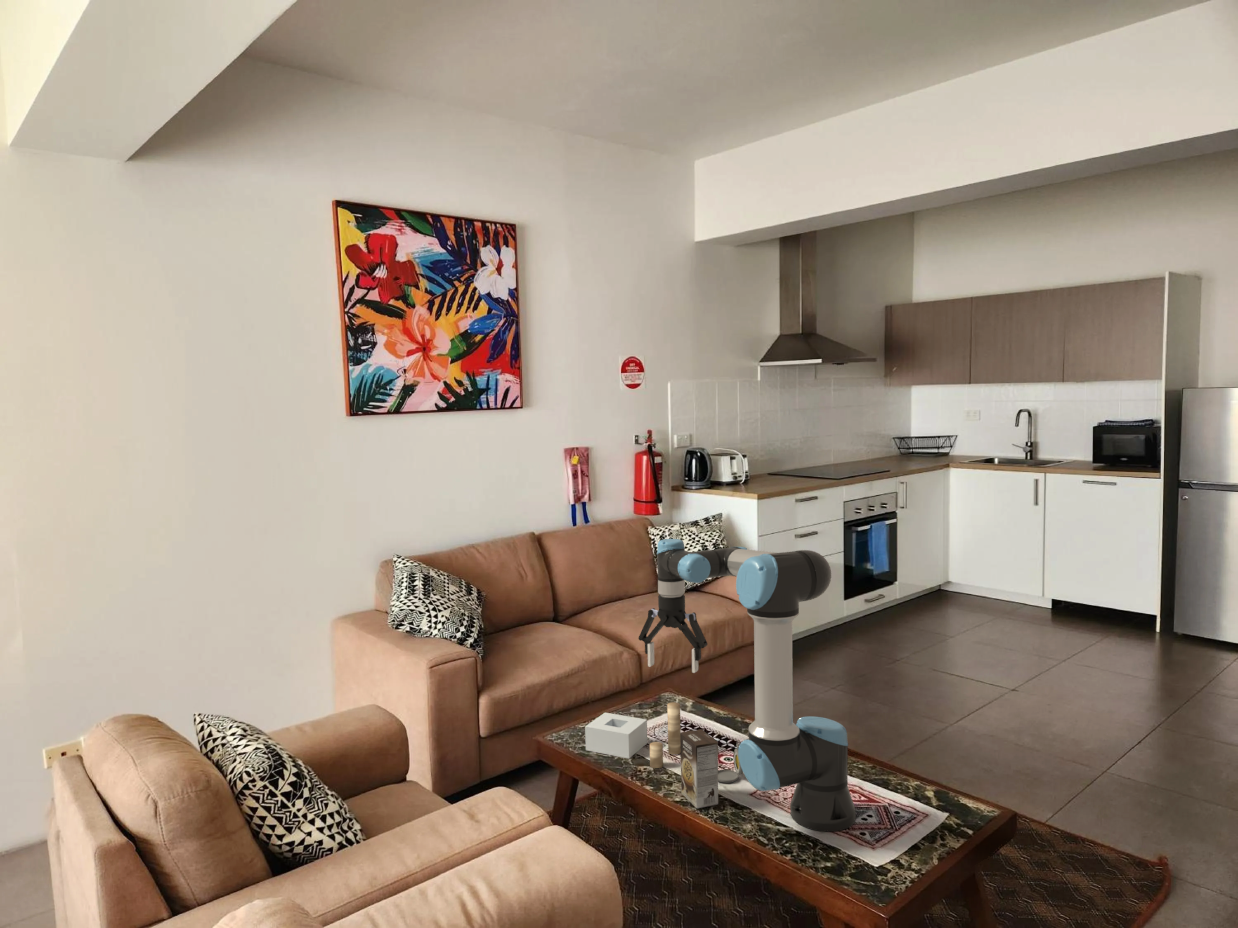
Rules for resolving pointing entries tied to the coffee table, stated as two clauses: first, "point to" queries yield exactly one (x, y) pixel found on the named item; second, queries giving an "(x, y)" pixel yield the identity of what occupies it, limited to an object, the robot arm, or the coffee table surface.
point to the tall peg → (674, 728)
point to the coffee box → (699, 768)
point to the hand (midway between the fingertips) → (672, 668)
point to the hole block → (616, 735)
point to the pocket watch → (731, 775)
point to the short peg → (656, 755)
